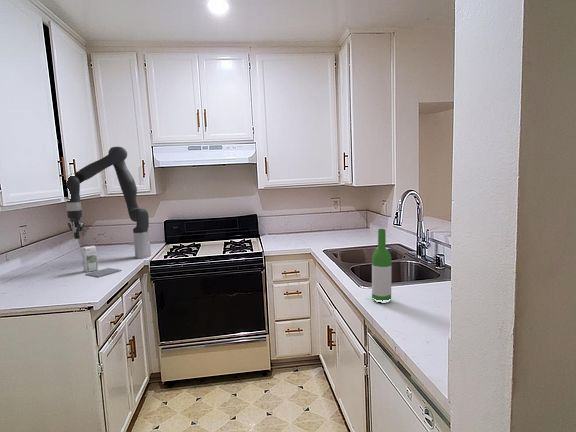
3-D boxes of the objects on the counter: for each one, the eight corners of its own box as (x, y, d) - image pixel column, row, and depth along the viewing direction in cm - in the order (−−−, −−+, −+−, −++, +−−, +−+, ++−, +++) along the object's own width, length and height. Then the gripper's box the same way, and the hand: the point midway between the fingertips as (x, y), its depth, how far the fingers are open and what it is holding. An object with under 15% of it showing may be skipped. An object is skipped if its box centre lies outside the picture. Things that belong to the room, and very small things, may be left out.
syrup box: (94, 268, 208) (91, 245, 206) (98, 270, 204) (96, 246, 202) (83, 271, 203) (81, 246, 202) (87, 272, 200) (85, 248, 198)
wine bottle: (395, 302, 141) (396, 229, 137) (379, 305, 138) (379, 231, 135) (383, 296, 148) (383, 227, 145) (368, 299, 145) (368, 228, 142)
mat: (108, 268, 207) (108, 267, 207) (121, 270, 201) (121, 269, 201) (85, 274, 195) (85, 273, 195) (98, 277, 189) (98, 276, 189)
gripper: (87, 209, 205) (89, 238, 207) (74, 209, 211) (76, 237, 213) (74, 210, 198) (77, 240, 200) (61, 210, 205) (64, 239, 207)
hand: (76, 238), depth 207 cm, fingers closed
